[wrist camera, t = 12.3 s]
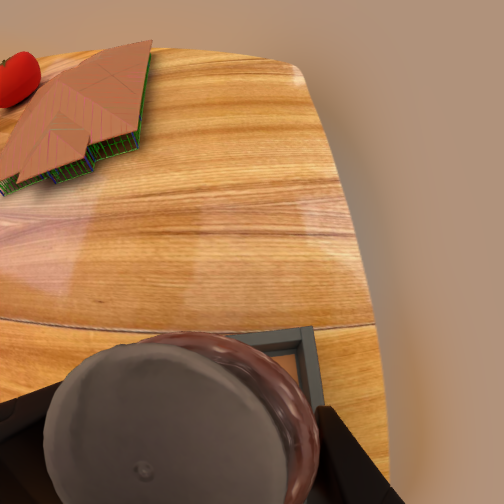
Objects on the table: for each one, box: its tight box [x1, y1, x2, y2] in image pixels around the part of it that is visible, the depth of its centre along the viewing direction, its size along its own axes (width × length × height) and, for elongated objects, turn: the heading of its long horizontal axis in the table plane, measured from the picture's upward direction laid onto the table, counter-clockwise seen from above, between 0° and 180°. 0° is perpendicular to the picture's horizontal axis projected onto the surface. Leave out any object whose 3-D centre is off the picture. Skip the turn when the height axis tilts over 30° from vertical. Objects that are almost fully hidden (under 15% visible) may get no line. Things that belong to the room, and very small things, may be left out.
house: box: [0, 40, 152, 196], centre depth 33 cm, size 23×33×8 cm
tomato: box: [0, 52, 41, 108], centre depth 39 cm, size 13×14×12 cm
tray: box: [225, 326, 325, 504], centre depth 14 cm, size 11×20×4 cm, turn 6°
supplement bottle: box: [43, 331, 320, 504], centre depth 8 cm, size 6×6×11 cm
